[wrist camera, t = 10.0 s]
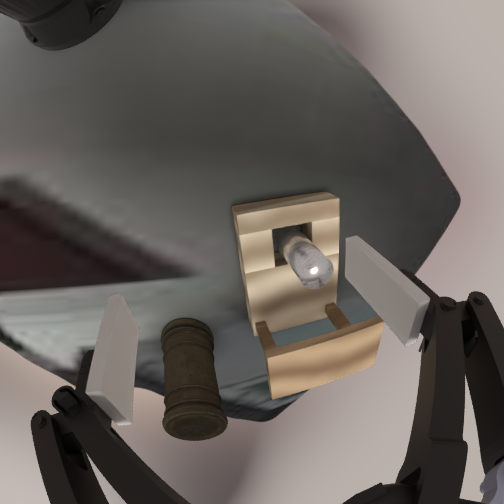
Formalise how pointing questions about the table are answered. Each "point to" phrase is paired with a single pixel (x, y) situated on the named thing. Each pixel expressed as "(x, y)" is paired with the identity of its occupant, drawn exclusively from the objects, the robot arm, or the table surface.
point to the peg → (303, 257)
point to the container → (191, 382)
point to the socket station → (299, 295)
